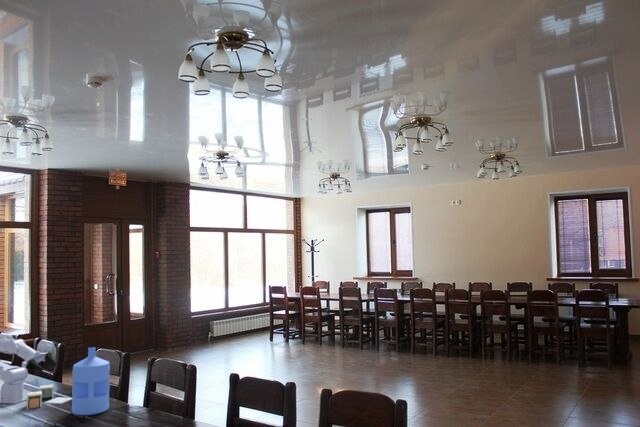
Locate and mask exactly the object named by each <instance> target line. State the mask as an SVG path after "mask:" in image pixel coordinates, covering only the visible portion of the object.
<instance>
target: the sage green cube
mask: <svg viewBox="0 0 640 427" xmlns="http://www.w3.org/2000/svg"><path fill="white" fill-rule="evenodd" d="M54 390H55V389H54V383H53V384H46V385H45V384H44V385H39V391H42V399H46V398H51V400H52V399H54V394H55V393H54Z"/></svg>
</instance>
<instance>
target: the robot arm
mask: <svg viewBox="0 0 640 427" xmlns="http://www.w3.org/2000/svg"><path fill="white" fill-rule="evenodd" d="M0 351H3V352H8V354H15V355H17V356H18V357H20V358H22V359H23V360H24V361H22V363H21V366H17V365H10V364H8V363H5V362H3V361H1V360H0V380H2V381H3V382H4V383H2V384H1V387H0V404H15V405H16V404H18V403H21V402H23V401H27V397H25V398H24V384H25V383H24V382H25V381H26V379H27V378H28V377H29V376H28V375H29V372H28V371H34V372H38V373H43V370H44V368H43V366H41V364H39V363H41V362H42V361H43V360H44V364H46V365H49V366H51V367H56V366H57V361H56V360H55V359H54V358H53V356H52V352H50V351H49V352H41V351H39V350H38V351H37V350H35V349H34V348H32V347H30V346H28V345H27V344H26V342H25V340H24V339H22V338H19V339H14V338H7V337H6V336H5V337H2V338H0Z"/></svg>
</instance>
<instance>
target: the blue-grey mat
mask: <svg viewBox="0 0 640 427" xmlns="http://www.w3.org/2000/svg"><path fill="white" fill-rule="evenodd" d="M70 401H72V397H61V396H60V397H58V396H57V397H55V398H54V397H53V399H52V398H51V399H49V400H47V401H44V404H49V405H50V404H53V405H62V404H65V403H68V402H70Z"/></svg>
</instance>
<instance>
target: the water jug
mask: <svg viewBox="0 0 640 427" xmlns="http://www.w3.org/2000/svg"><path fill="white" fill-rule="evenodd" d="M87 349H88V350H87V354H88V355H87V356H86V357H85V358H84V359H81V360H80V361H78V362H77V363H75V364H73V366H72V388H71V393H72V396H71V398H72V400H71V401H72V402H71V409H70V410H71V413H72V414H73V415H76V416H92V415H97V414H101V413H104V412H106V411H108V410H109V408H110V388H111V387H110V386H111V385H110V371H111V365H110V361H108V360H106V359H103V358H101V357H98V356H96V352H97V351H96V347H94V346H93V347H88V348H87Z"/></svg>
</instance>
